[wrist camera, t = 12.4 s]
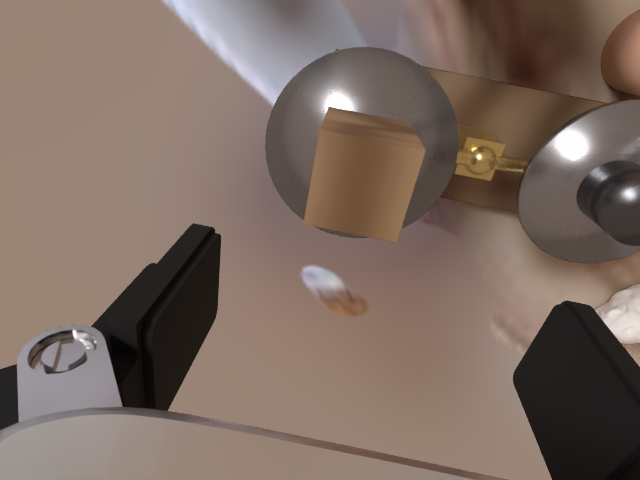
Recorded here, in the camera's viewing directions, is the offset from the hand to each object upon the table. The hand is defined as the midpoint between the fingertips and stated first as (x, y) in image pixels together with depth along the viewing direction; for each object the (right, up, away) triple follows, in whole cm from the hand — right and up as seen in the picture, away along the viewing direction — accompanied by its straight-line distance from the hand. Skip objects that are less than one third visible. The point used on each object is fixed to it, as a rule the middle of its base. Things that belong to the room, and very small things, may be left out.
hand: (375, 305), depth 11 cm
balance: (+11, +10, +22) cm, 26 cm away
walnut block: (+1, +7, +14) cm, 15 cm away
